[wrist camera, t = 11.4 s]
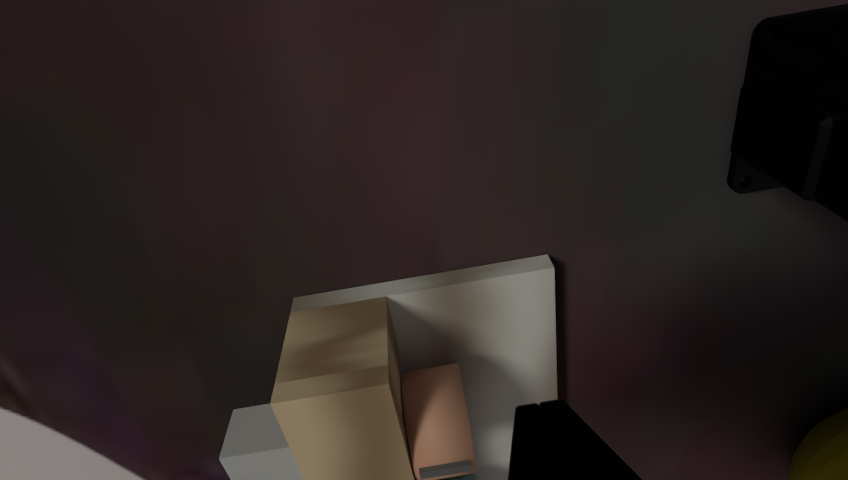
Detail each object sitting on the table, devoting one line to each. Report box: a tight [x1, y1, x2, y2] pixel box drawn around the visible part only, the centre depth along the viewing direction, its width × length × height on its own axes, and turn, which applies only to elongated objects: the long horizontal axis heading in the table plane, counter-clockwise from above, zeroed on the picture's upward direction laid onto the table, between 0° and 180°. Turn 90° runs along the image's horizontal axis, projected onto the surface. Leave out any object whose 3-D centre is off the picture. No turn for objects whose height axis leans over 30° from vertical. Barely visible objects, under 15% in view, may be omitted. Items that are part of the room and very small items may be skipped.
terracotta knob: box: [219, 363, 478, 480], centre depth 22 cm, size 10×4×5 cm, turn 99°
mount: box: [270, 254, 557, 480], centre depth 24 cm, size 11×18×6 cm, turn 9°
